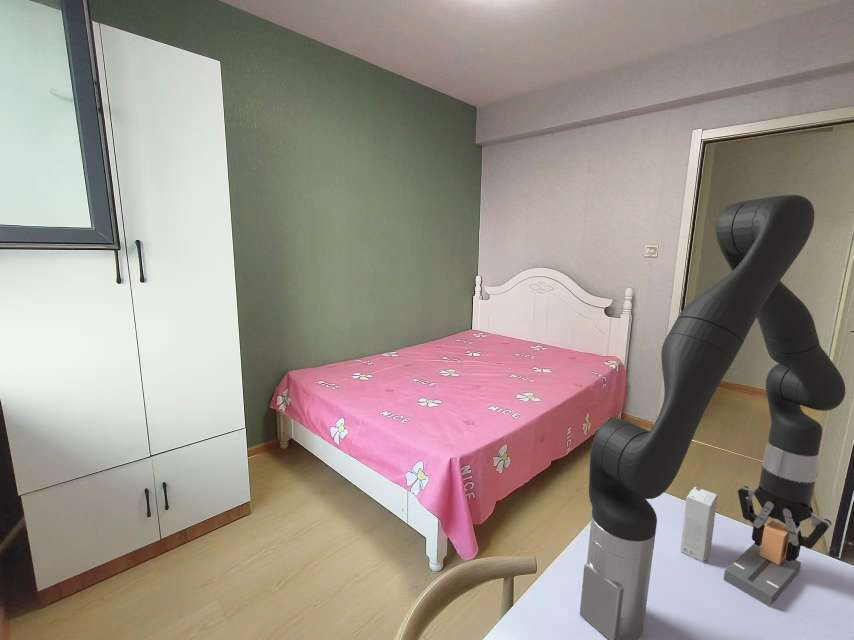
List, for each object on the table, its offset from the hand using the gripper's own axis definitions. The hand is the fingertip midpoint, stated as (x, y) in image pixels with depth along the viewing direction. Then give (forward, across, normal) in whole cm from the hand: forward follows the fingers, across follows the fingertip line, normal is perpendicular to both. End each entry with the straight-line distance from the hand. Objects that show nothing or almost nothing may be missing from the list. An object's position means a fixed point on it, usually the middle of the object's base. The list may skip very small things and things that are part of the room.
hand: (773, 551), depth 79 cm
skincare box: (+3, -10, -8) cm, 13 cm away
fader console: (+3, 0, -4) cm, 6 cm away
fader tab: (+1, 0, 0) cm, 1 cm away
